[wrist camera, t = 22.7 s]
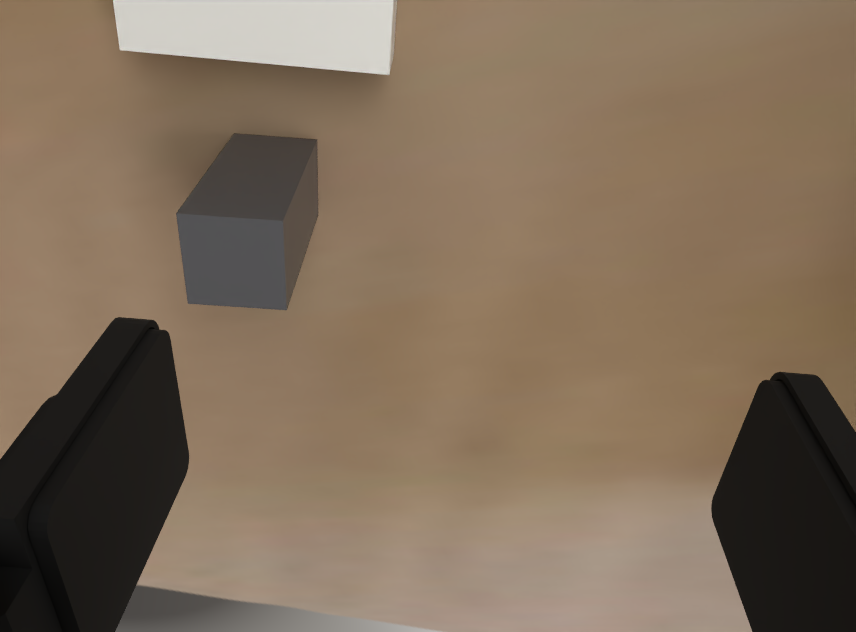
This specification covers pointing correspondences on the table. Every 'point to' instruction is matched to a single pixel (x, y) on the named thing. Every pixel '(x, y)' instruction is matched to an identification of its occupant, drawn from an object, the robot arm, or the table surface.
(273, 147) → the plug
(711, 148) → the table surface
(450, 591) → the table surface
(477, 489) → the table surface
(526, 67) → the table surface
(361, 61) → the socket block
